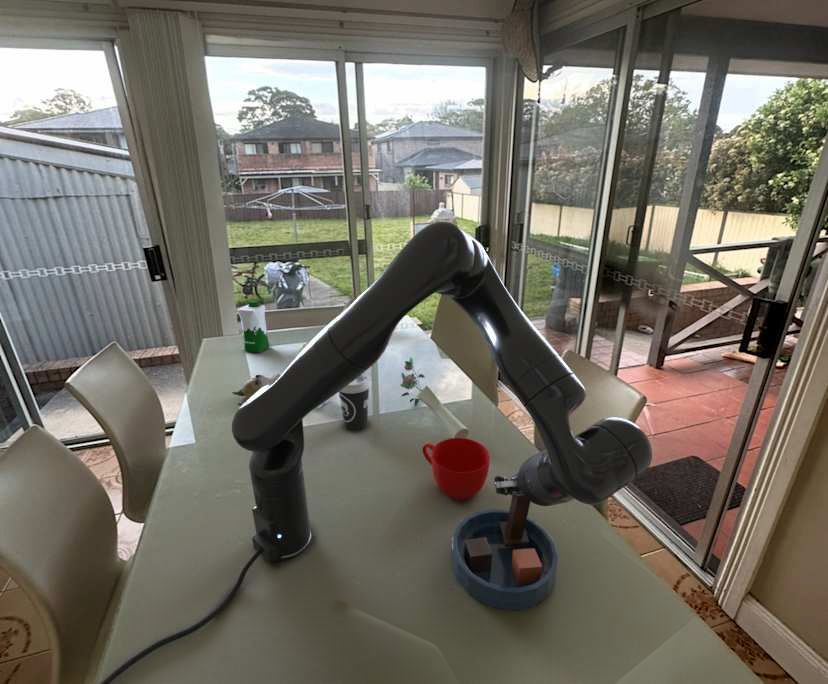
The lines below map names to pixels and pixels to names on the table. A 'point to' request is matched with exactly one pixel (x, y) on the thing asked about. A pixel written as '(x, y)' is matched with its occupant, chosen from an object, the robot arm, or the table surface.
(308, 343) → the decorated donut
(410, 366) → the flower vase
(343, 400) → the coffee cup
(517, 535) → the wooden post with base
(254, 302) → the soya milk
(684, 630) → the table surface
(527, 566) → the terracotta block
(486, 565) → the walnut block
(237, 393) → the ceramic sculpture
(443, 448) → the ceramic cup
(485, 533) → the bowl
